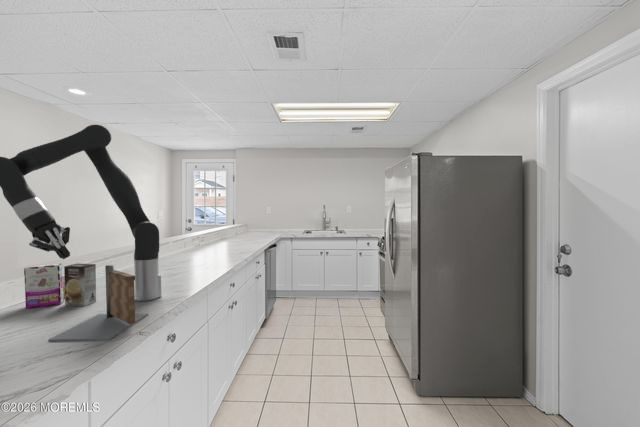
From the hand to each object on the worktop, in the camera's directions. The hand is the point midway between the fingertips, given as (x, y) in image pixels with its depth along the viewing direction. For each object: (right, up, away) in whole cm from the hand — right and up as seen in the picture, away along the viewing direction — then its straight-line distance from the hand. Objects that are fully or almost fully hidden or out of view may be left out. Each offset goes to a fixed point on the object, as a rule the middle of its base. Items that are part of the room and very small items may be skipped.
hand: (66, 257), depth 110 cm
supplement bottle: (-26, -22, +33) cm, 47 cm away
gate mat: (+16, -23, -4) cm, 28 cm away
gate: (+20, -20, -2) cm, 29 cm away
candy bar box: (-25, -22, +20) cm, 39 cm away
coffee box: (-11, -22, +22) cm, 33 cm away
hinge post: (+13, -22, +4) cm, 26 cm away
